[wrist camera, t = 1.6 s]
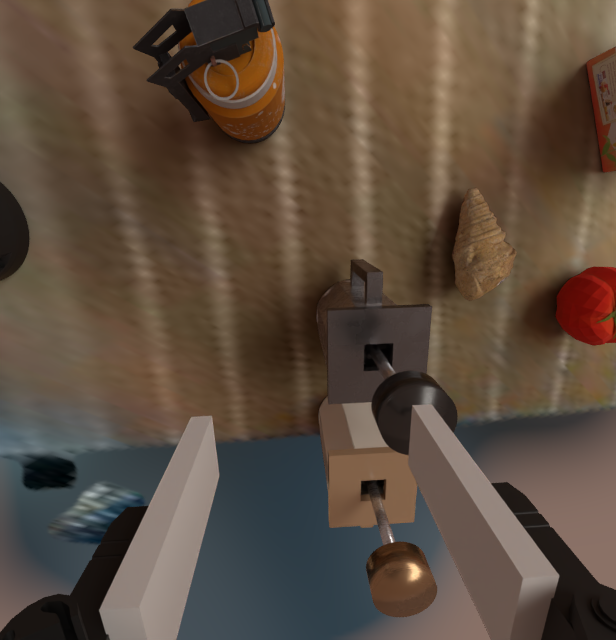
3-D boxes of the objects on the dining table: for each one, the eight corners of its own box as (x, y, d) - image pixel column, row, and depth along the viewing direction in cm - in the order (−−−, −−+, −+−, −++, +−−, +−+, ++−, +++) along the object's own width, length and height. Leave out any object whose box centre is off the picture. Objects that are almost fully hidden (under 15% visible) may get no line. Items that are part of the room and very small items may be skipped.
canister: (295, 129, 43) (300, 64, 24) (213, 160, 44) (154, 120, 25) (269, 48, 41) (252, -96, 22) (182, 82, 41) (91, -30, 22)
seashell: (427, 201, 47) (453, 199, 39) (485, 181, 46) (523, 175, 39) (446, 295, 51) (474, 309, 43) (500, 277, 50) (537, 289, 43)
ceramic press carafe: (319, 459, 58) (329, 547, 43) (317, 387, 54) (329, 456, 39) (380, 456, 59) (412, 541, 43) (383, 384, 55) (419, 450, 39)
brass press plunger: (337, 488, 46) (362, 626, 31) (337, 442, 44) (364, 566, 28) (391, 485, 46) (442, 620, 31) (394, 439, 44) (450, 559, 29)
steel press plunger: (337, 371, 41) (367, 467, 25) (337, 313, 39) (369, 379, 23) (398, 369, 41) (462, 461, 26) (401, 310, 39) (473, 374, 24)
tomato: (539, 338, 54) (585, 360, 45) (542, 268, 50) (592, 279, 42) (606, 326, 54) (664, 347, 45) (613, 256, 50) (677, 264, 42)
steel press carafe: (316, 348, 52) (328, 404, 37) (315, 257, 48) (327, 278, 33) (384, 345, 53) (424, 399, 37) (388, 255, 49) (434, 274, 33)
